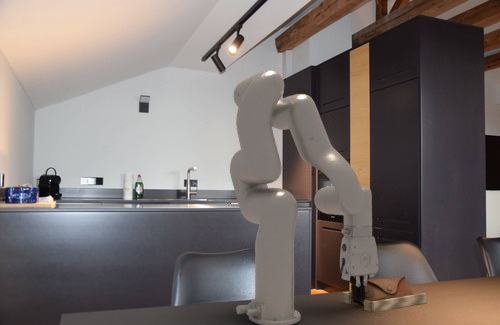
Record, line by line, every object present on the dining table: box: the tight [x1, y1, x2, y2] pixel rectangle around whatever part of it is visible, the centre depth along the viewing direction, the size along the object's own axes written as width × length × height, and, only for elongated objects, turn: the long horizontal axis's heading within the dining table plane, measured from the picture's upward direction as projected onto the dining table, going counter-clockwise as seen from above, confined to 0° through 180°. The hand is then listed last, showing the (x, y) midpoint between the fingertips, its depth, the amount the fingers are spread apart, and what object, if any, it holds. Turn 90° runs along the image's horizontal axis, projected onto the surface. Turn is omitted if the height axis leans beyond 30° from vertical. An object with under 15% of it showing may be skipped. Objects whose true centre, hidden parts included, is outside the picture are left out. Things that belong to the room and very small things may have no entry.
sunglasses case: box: [350, 276, 415, 305], centre depth 123 cm, size 18×7×7 cm, turn 109°
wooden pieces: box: [341, 290, 427, 313], centre depth 121 cm, size 20×12×2 cm, turn 117°
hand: (358, 299), depth 117 cm, fingers closed
